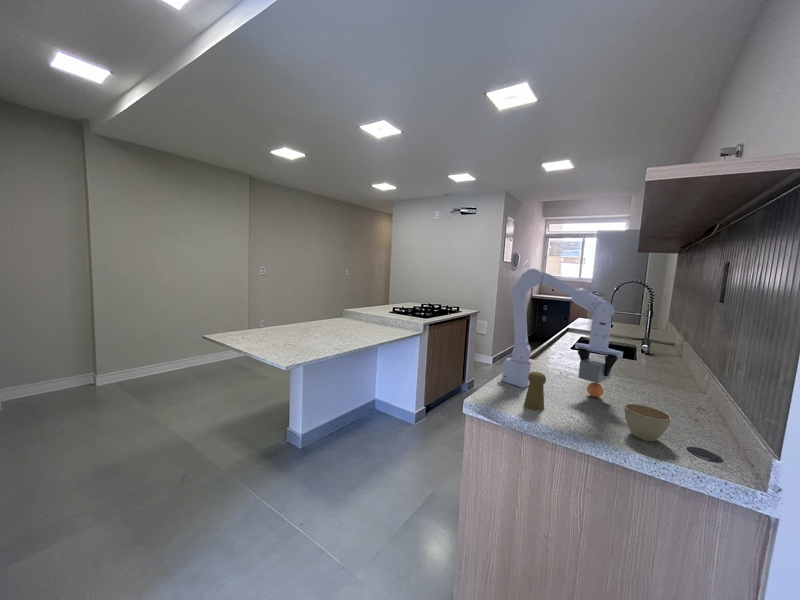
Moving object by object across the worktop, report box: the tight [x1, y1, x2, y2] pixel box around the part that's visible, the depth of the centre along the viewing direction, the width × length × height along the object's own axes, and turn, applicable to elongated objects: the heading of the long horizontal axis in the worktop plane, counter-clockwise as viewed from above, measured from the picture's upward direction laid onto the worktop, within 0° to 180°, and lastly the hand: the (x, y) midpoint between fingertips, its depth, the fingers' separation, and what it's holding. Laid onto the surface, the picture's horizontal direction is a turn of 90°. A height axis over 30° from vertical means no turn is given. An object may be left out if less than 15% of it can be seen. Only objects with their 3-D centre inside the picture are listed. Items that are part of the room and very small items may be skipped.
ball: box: [586, 382, 604, 398], centre depth 115 cm, size 5×5×5 cm
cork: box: [523, 371, 547, 411], centre depth 102 cm, size 6×6×11 cm
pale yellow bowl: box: [623, 403, 672, 442], centre depth 86 cm, size 10×10×7 cm
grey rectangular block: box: [577, 356, 612, 384], centre depth 113 cm, size 6×11×6 cm, turn 128°
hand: (595, 372), depth 113 cm, fingers closed on grey rectangular block, 6 cm apart
